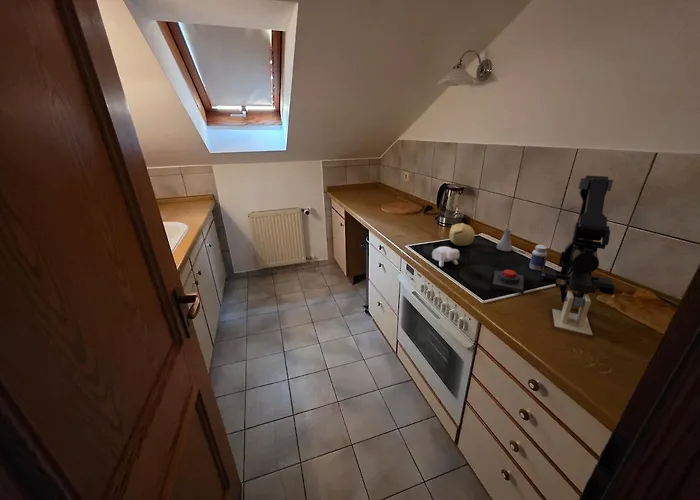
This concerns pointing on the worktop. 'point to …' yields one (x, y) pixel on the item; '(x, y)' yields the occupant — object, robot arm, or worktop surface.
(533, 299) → the worktop surface
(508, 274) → the button
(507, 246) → the flask
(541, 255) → the pill bottle
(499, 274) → the button housing
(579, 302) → the lever
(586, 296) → the beige u-shaped holder
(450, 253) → the white animal figurine
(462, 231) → the sculpture
